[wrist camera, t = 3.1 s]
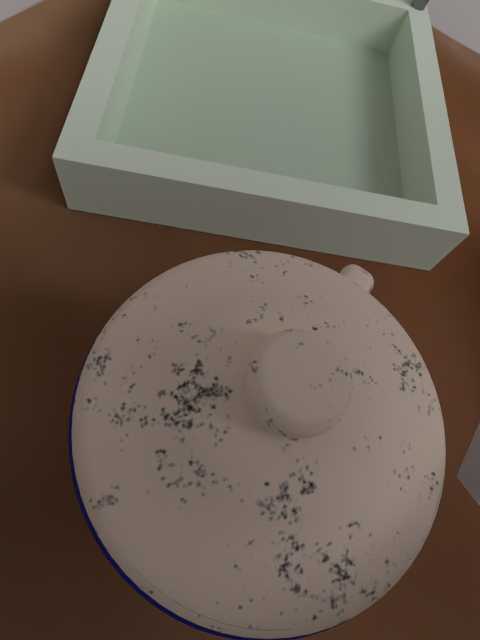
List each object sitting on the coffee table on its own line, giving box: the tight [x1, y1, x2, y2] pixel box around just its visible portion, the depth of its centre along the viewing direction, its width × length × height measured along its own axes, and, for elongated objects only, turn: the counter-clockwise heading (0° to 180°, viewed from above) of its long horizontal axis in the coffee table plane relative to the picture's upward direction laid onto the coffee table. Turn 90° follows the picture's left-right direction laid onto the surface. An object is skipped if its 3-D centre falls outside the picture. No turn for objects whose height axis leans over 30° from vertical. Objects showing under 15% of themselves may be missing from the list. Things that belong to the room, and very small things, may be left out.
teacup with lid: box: [69, 250, 446, 640], centre depth 13 cm, size 12×9×12 cm
